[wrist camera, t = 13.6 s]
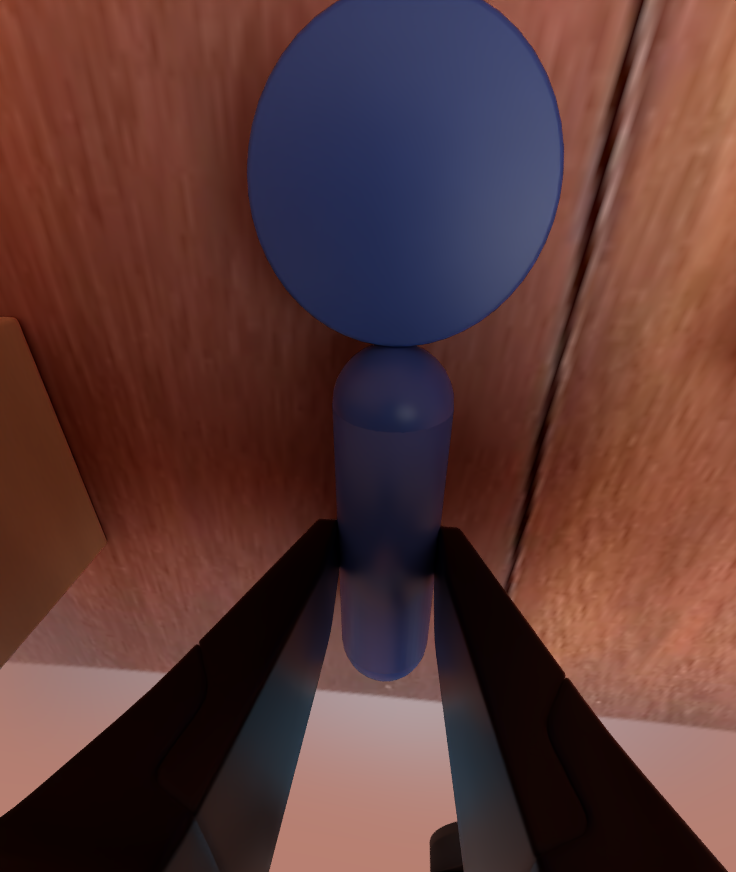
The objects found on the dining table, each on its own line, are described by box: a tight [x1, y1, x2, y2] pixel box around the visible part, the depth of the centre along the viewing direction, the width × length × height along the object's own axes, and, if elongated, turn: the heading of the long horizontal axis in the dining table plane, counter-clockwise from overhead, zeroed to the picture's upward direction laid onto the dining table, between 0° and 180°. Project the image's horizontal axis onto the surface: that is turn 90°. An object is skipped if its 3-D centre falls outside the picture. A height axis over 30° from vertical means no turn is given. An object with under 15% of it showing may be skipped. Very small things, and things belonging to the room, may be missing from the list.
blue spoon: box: [247, 0, 564, 681], centre depth 8 cm, size 12×4×2 cm, turn 0°
